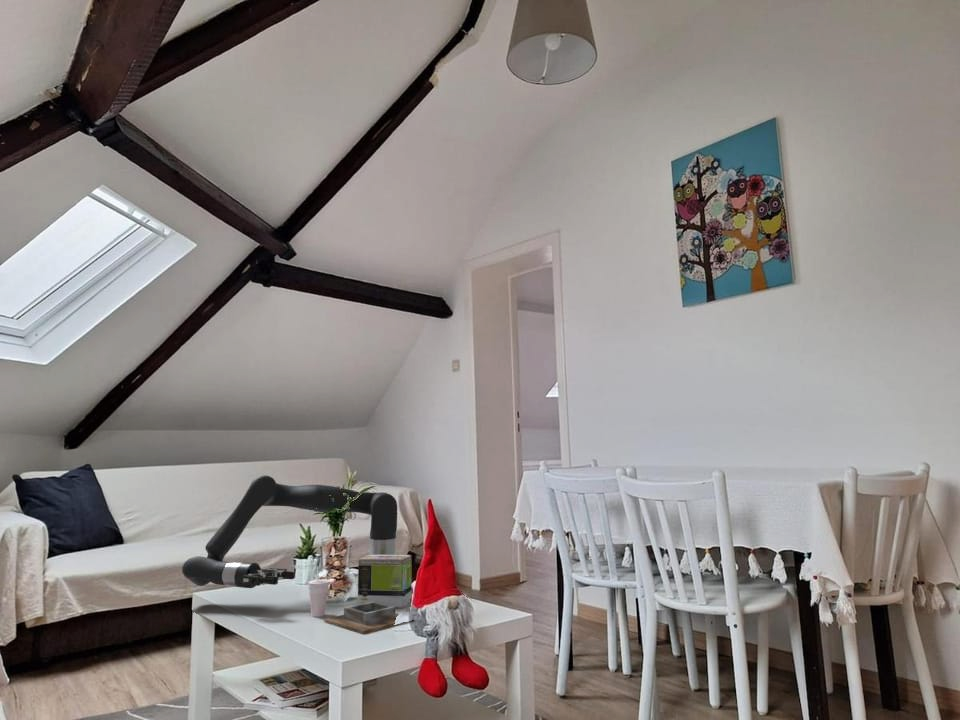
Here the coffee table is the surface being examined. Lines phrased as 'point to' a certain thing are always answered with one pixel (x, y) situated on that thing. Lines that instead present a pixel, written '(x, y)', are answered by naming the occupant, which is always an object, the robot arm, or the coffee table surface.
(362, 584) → the tea box
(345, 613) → the collar stand
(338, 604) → the coffee table surface
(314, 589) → the smoothie
